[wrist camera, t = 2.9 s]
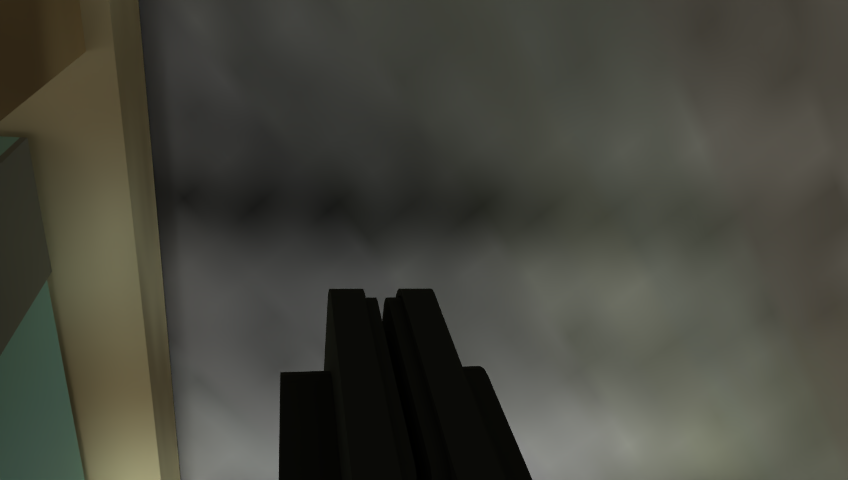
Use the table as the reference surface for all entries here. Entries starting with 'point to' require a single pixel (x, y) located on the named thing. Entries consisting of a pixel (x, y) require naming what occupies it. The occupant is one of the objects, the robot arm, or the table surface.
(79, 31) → the seat
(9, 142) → the leg
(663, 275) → the table surface
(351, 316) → the robot arm
